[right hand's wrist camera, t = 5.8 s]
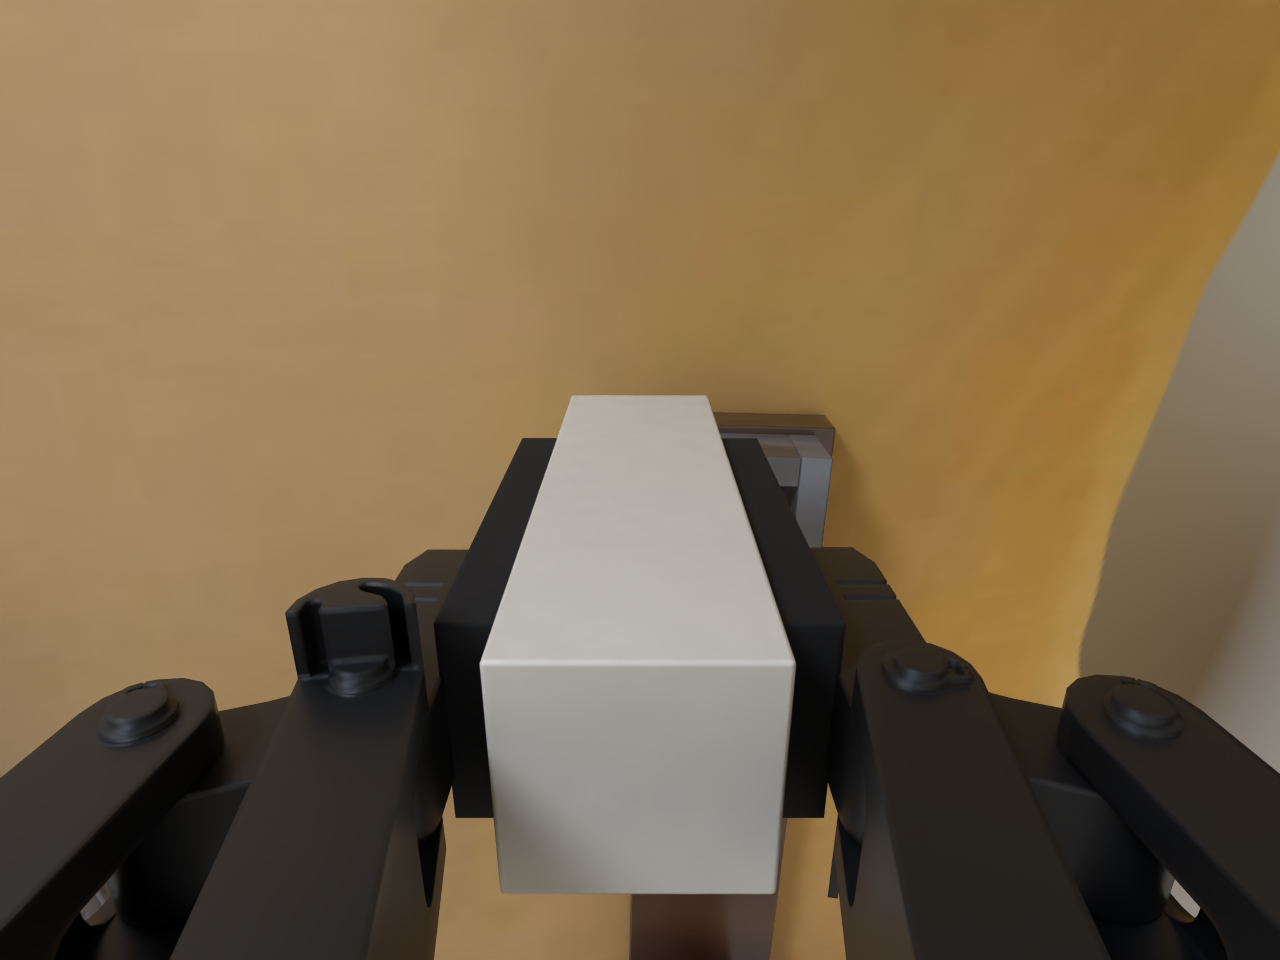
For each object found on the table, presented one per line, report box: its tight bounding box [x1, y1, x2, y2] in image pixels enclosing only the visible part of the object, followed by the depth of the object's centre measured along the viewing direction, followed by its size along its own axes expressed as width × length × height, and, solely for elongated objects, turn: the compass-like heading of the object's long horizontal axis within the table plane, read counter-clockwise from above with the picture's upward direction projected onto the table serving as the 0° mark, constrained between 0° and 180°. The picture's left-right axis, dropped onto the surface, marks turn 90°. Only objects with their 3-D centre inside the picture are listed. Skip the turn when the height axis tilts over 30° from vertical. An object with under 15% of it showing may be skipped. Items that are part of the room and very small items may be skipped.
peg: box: [480, 395, 796, 894], centre depth 12 cm, size 3×3×10 cm
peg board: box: [629, 413, 835, 960], centre depth 36 cm, size 38×8×8 cm, turn 179°
